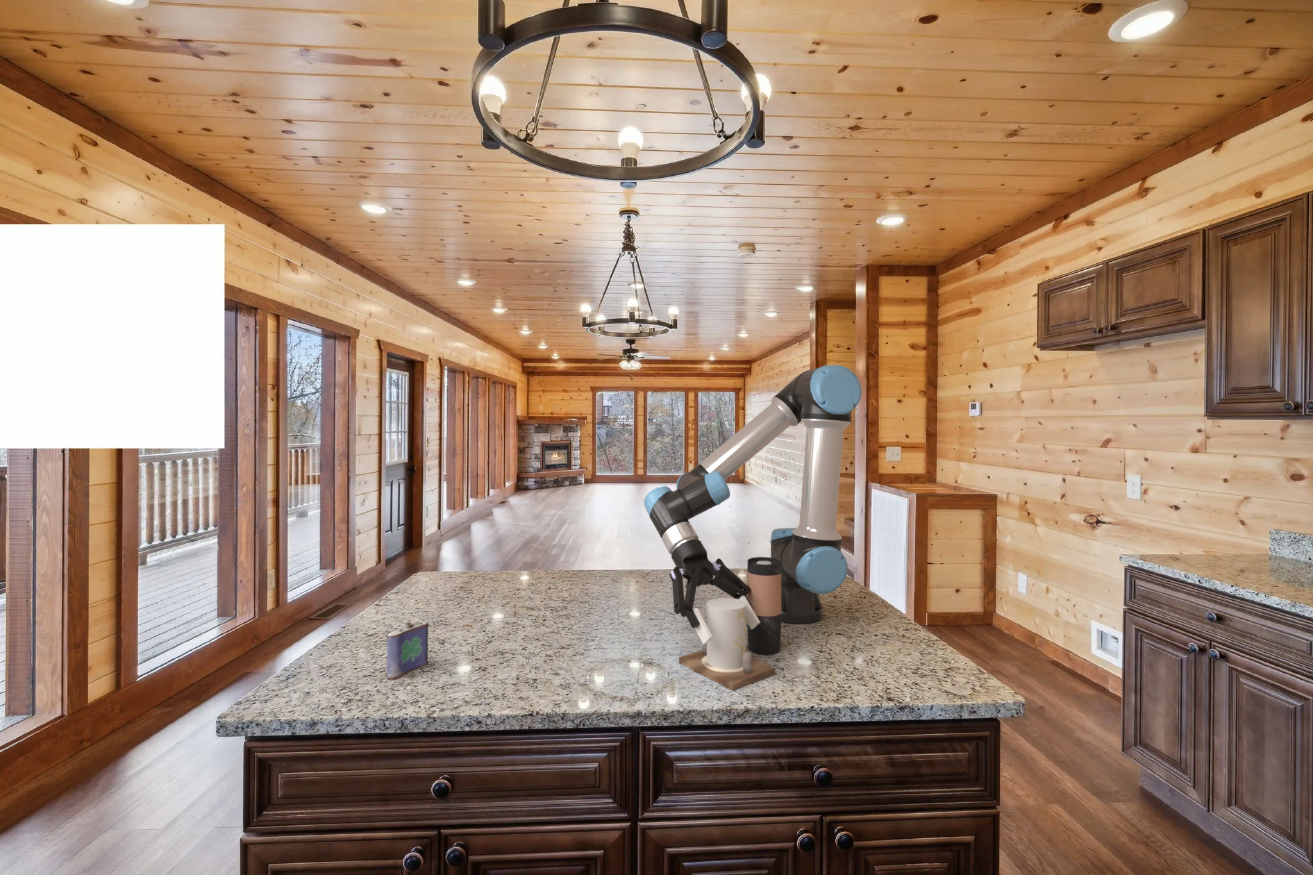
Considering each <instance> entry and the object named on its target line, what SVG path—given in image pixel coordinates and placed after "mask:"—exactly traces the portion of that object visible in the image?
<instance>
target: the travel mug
mask: <svg viewBox="0 0 1313 875" xmlns="http://www.w3.org/2000/svg"><path fill="white" fill-rule="evenodd" d="M746 565H747V569H746V570H747V571H746V572H747V578H746V580H747V581H746V585H747V586H748V587H750V589H751V590H750V592H749V593H748V594H747V598H748V600H749V601H750V603H751V605H752V606H753V611H754V613H755V614H756V616H757V618H758V619H759V621H760V623H759V624H758V625H757V626H756V627H755V628H754V629H750V627H749V625H748V623H747V622H746V634H747V649H748V651H750V652H751V653H752V654H756V655H759V656H773V655H776V654H778V653H780V651H781V636H782V633H781V632H782V622H781V561H780V560H778V559H775V558H771V556H770V557H768V556H767V557H766V556H756V557H750V558H748V559H747V564H746Z"/></svg>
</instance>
